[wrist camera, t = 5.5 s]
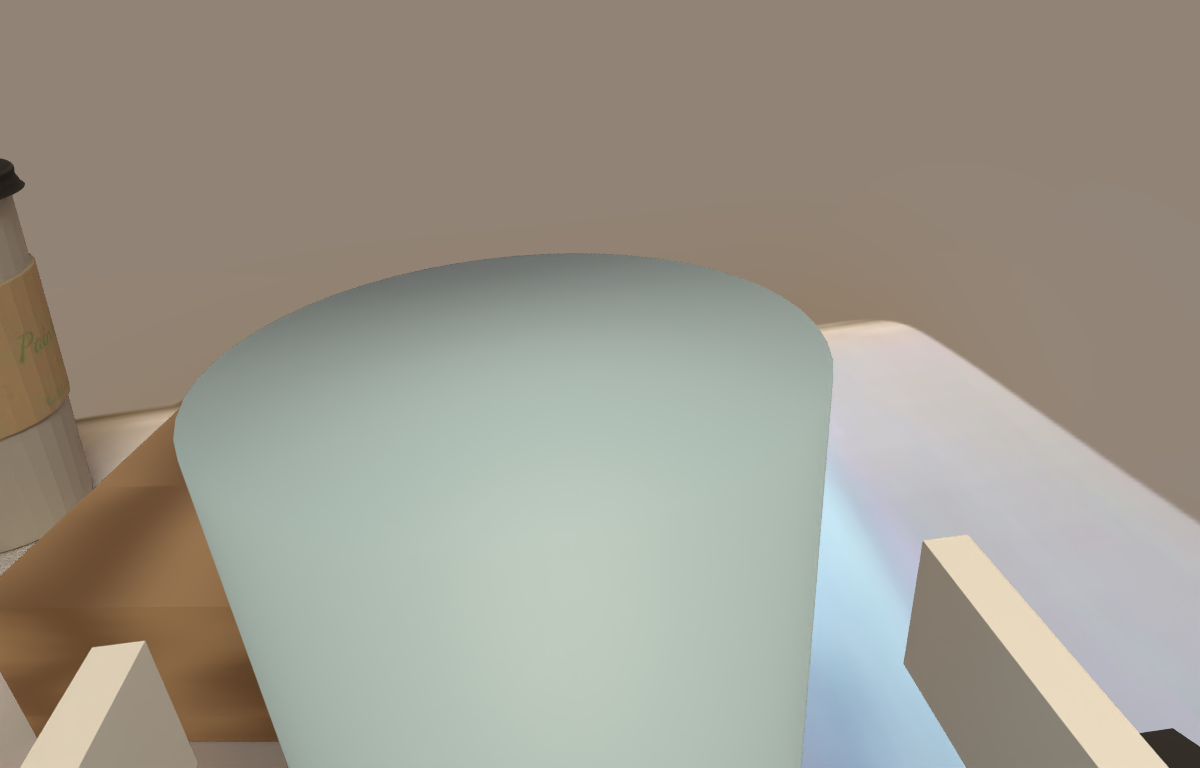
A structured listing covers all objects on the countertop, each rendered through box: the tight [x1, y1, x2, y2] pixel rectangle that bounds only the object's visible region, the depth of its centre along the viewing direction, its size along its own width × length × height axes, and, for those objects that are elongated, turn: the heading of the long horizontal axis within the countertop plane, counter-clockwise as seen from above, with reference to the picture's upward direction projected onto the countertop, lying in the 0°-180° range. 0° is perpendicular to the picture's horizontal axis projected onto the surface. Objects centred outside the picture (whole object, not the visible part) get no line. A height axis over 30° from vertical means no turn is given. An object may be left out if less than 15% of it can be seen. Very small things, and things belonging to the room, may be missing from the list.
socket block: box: [0, 410, 279, 741], centre depth 29 cm, size 18×18×5 cm
